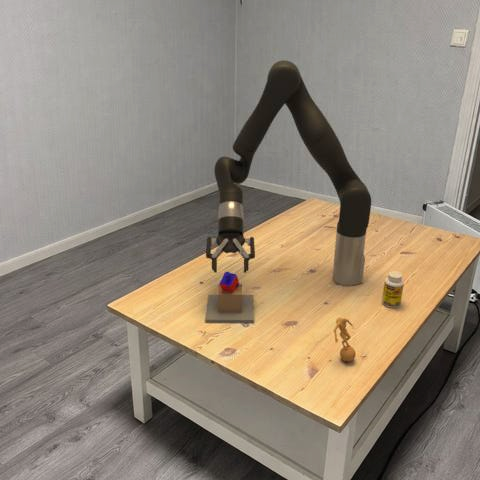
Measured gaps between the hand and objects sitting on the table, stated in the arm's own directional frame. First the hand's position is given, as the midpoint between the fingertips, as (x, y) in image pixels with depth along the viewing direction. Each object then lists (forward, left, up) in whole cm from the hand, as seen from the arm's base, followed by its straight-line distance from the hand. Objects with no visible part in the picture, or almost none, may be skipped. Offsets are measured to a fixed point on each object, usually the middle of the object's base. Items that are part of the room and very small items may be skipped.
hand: (230, 272), depth 152 cm
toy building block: (0, -1, -6) cm, 6 cm away
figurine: (-30, +22, -13) cm, 40 cm away
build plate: (0, -1, -13) cm, 13 cm away
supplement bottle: (-49, -5, -13) cm, 51 cm away
